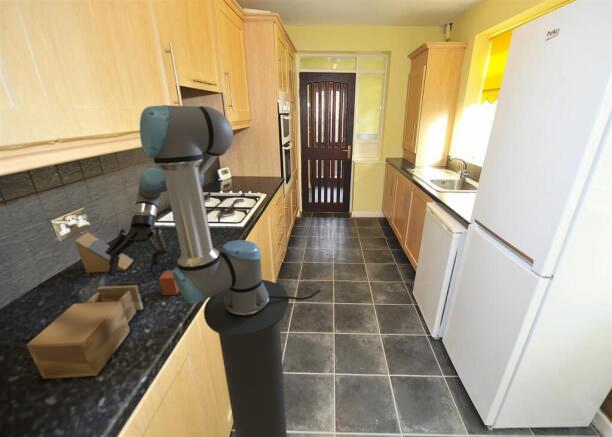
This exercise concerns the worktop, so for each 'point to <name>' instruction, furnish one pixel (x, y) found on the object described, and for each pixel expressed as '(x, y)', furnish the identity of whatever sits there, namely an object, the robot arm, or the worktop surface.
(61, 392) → the worktop surface
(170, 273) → the block
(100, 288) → the drawer
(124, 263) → the sandwich container
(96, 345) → the tan rectangular box
